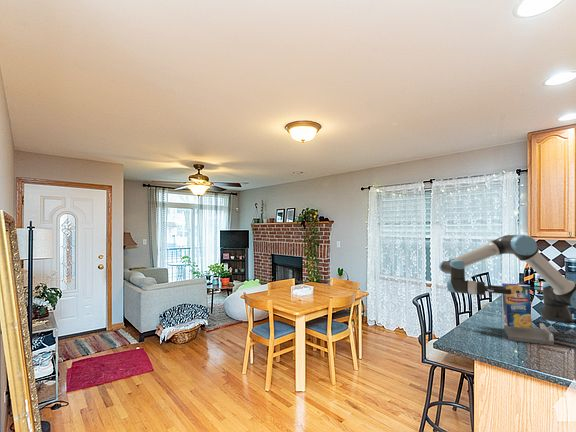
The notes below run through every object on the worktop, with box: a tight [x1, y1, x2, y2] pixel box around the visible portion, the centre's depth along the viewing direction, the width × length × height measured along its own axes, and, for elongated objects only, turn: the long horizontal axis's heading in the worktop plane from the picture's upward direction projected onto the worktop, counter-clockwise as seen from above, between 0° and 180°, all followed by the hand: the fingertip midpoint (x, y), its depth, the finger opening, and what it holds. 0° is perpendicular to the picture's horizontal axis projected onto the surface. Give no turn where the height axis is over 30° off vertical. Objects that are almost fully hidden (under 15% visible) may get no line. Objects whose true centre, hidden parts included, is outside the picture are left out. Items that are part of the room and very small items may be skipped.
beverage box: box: [501, 282, 533, 328], centre depth 173 cm, size 7×11×22 cm, turn 70°
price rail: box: [539, 322, 555, 341], centre depth 164 cm, size 22×2×3 cm, turn 151°
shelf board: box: [503, 324, 555, 346], centre depth 167 cm, size 22×18×2 cm
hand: (527, 291), depth 171 cm, fingers closed on beverage box, 4 cm apart
